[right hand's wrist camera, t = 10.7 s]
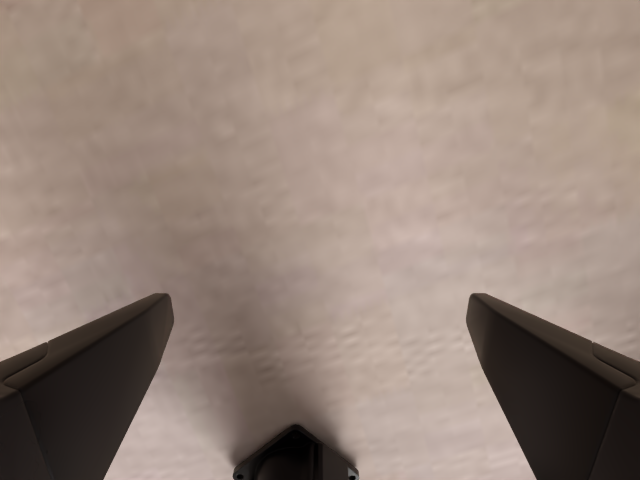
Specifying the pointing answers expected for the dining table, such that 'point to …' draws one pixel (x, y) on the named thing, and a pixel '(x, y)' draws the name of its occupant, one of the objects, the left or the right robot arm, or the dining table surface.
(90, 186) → the dining table surface
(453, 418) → the dining table surface
